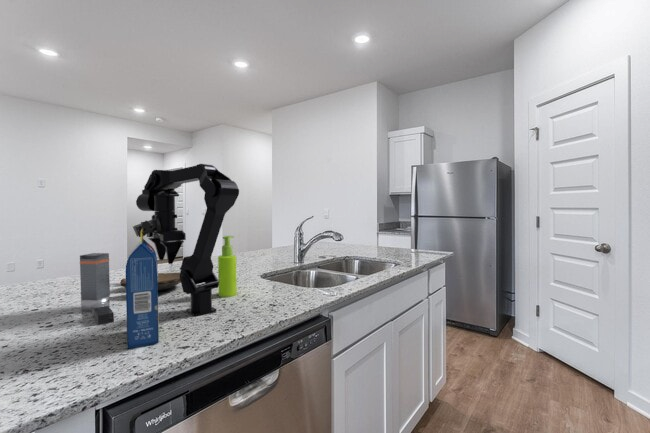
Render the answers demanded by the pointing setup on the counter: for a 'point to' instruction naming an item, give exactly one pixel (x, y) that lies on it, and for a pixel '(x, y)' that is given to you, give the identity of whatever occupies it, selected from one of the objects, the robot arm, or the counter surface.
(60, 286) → the counter surface
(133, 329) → the blue food package
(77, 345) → the counter surface
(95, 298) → the grey orange-striped post
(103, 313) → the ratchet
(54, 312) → the counter surface
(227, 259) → the soap dispenser
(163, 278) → the notched wooden ornament
